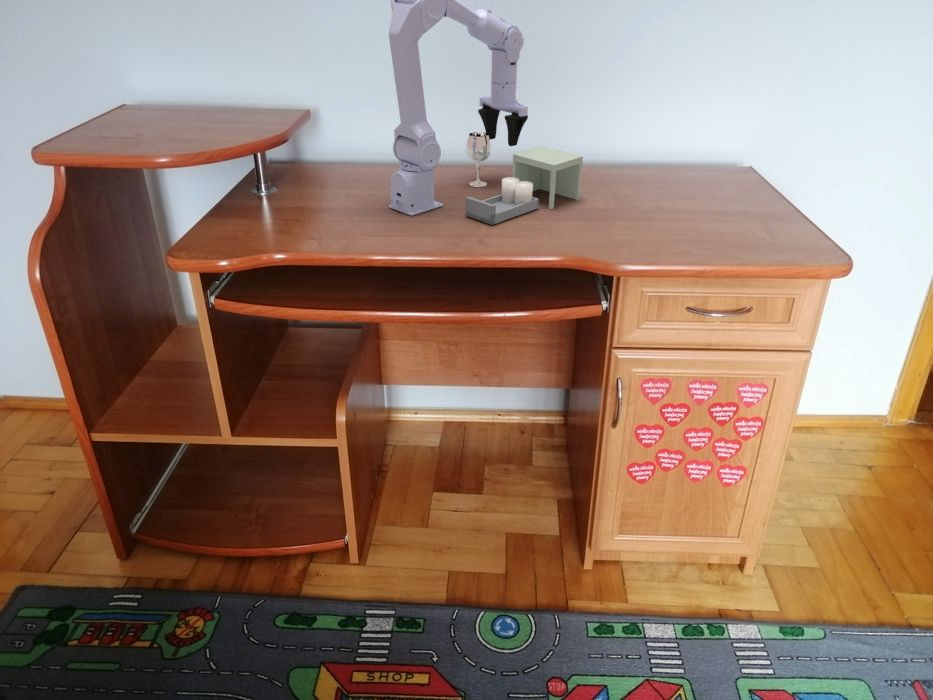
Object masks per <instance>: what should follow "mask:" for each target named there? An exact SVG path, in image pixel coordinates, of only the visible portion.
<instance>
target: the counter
mask: <svg viewBox="0 0 933 700" xmlns="http://www.w3.org/2000/svg"><path fill="white" fill-rule="evenodd" d="M583 158H584V156H583V155H579V154H576V153H572V152H571V153H570V152H566V151H562V150H559V149H554V148H552V147H546V146H543V145H541V146H538V147H537V146H536V147H534V148H531V149H527V150H523V151H520V152H516V153H513V155H512V171H511V172H512V174H511V177H514V178H518V179H519V181H528V182H531V183H533V192H535V191H537V190H542V191H546V192H549V199H548V209H549V210H553V209H554V210H555V197H556V196H555V195H559V196H562V197H566V198H569V199H571V200H574V201H575V200H576V201H578V200H580V194H581V185H582V184H581V182H582V171H583Z"/></svg>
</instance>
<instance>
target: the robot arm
mask: <svg viewBox="0 0 933 700" xmlns="http://www.w3.org/2000/svg"><path fill="white" fill-rule="evenodd" d="M390 5H391V12H392V14H391V18H390V23H389V29H388V39H389V46H390V55H391V60H392V61H391V62H392V69H393V75H394V81H395V82H394V83H395V91H396V97H397V99H396V100H397V106H398V112H399V119H400V123H399V125H398V126H396V127H395V128H394V130H393V132H394V141H393V144H392V151H393V155H394V157H395V158H396V159H397V160H398V164H399V166H400V167H399V169H398V171H396V172H394V173H392V174H391V176H390V179H389V188H390V189H389V191H390V204H389V205H388V207H389V208H390V209H393V210H396V211H397V212H398V211H399V212H401V213H403V214H405V215H407V216H415V215H419V214H423V213H426V212H428V211H431V210H435V209H437V208H441V207H443V206H444V204H443V203H442V202H439V201H437V200H435V169H436V166H437V165H438V164H439V161H440V160H441V155H442V149H441V146H440V144H439V142H438V141H437V136H436V131H435V130H434V129H433V127H432V126H431V125H430V124H429V122H428V119H427V111H426V102H425V94H424V93H425V92H424V86H423V78H422V77H423V76H422V69H421V60H420V51H419V49H420V48H419V41H420V39H421V38H422V37H423V35H425V34H426V33H427V32H428V31H430V30H431V29H432V28H433V27H434V26H436V25H437V24H438V23H439V22H440V21H441V20H442V19H443V18H449V19H451V20H453V21H455V22H457V23H459V24H462V25H463V26H465V27H466V28H467V33H468V35H469V36H471V37H472V38H474V39H477V40H478V41H480V42H481V43H484V44H485V45H486V46H487V48H488V50H489V51H491V74H490V75H491V79H490V80H491V82H490V83H491V84H490V85H491V86H490V97H489V96H482V97H479V107H481V108H478V110H477V112H478V115H479V117H480V118H481V120H482V123H483V126H484V131H485V133H487V134H488V135H489V139H490V141H491V140H494V139H496V137H497V129H498V127H497V126H498V119H499V116H500V113H501V112H502V111H503V112H506V113H509V114H507V115H504V120H505V123H506V124H505V125H506V129H507V144H508V147H515V146H517V145H518V142H519V137H520V134H521V132H522V129H523V127H524V125H525V123H526V122H527V120H528V118H529V116H528V114H529V113H528V111H529V110H528V108H529V107H528V106H527V105H523V104H521V103H520V102H519V101H518V99H516V97H517V96H516V95H517V71H518V61H519V59H520V54H521V53H520V52H521V50H522V48H523V46H524V42H525V39H524V38H523V37H524V36H523V33H522V31H521V29H520V28H519V27H518V26H516V25H511V24H508V23H506V19H504V18H502V17H501V18H498V17H497V16H495V15H494V14H492V10H491V8H490V9H489V8H486V7H485V8H479V9H476V10H474V9H472V8H471V7H469V6H468V5H466V4H465V3H464V2H462V1H461V0H390Z"/></svg>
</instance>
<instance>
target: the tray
mask: <svg viewBox="0 0 933 700" xmlns="http://www.w3.org/2000/svg"><path fill="white" fill-rule="evenodd" d="M533 192H534V191H533V183H531V182H528V181H519V179H518V178H514V177H512V176H509V177H508V176H507V177H503V178H502V179H501V194H497V195H495V196H492V197H489V198H486V199H483V200H481V199H478V198H475V197H472V196H466V197H465V199H464V200H465V202H464V203H465V204H464V205H465V209H464V210H465V211H464V213H465V214H464V215H465V216H467V217H469V218H472V219H475V220H477V221H479V222H480V221H481V222H483V223H486V224H489V225H492V226H493V225H496V224H498V223H501V222H504V221H506V220H509V219H513V218H515V217H518V216H521V215H523V214H526V213H529V212H531V211H534V210H537V209H539V208H540V198H538V197H534V196H533Z"/></svg>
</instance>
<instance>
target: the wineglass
mask: <svg viewBox="0 0 933 700" xmlns="http://www.w3.org/2000/svg"><path fill="white" fill-rule="evenodd" d="M491 147H492V145H491V140H490V139H489V135H488V134H487V133H486V132H483V131H476V132H475V131H474V132H469V133H468V137H467V141H466V149H465V150H466V156H467V157H468V158H469V159H470V160H471V161H473V162H476V165H475V167H476V170H477V171H476V174H477V175H476V180H474V181H470V182H469V183H468V185H469V186H470V187H473V188H482V187H483V188H484V187H487V185H488V182H486V181H482V180H480V170H481V169H480V168H481V162H483V161H486V160H487V159H488V158H489V157H490V154H491Z"/></svg>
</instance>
